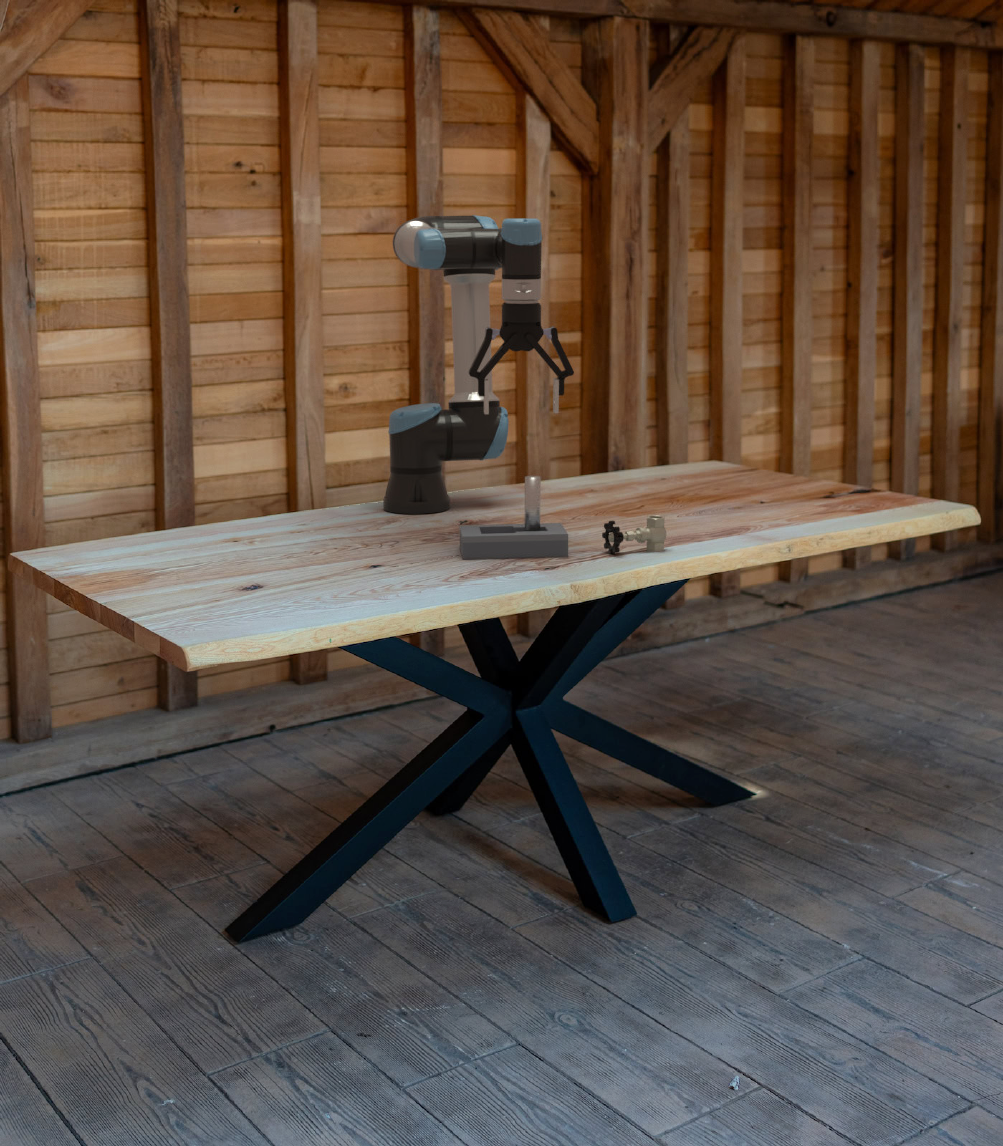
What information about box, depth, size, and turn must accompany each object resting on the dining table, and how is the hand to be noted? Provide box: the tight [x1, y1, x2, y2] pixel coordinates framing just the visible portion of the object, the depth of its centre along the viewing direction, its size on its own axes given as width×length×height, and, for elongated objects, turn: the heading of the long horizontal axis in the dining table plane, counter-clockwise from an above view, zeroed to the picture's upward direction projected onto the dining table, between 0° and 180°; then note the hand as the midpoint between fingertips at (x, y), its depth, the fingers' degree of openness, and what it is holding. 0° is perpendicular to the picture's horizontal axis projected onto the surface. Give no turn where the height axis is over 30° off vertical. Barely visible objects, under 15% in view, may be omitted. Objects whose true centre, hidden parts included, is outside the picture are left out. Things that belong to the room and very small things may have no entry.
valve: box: [601, 514, 667, 556], centre depth 259 cm, size 7×7×12 cm
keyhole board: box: [458, 522, 569, 560], centre depth 260 cm, size 20×11×4 cm, turn 95°
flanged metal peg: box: [524, 475, 542, 531], centre depth 259 cm, size 5×5×14 cm
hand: (521, 413), depth 263 cm, fingers open, 13 cm apart
